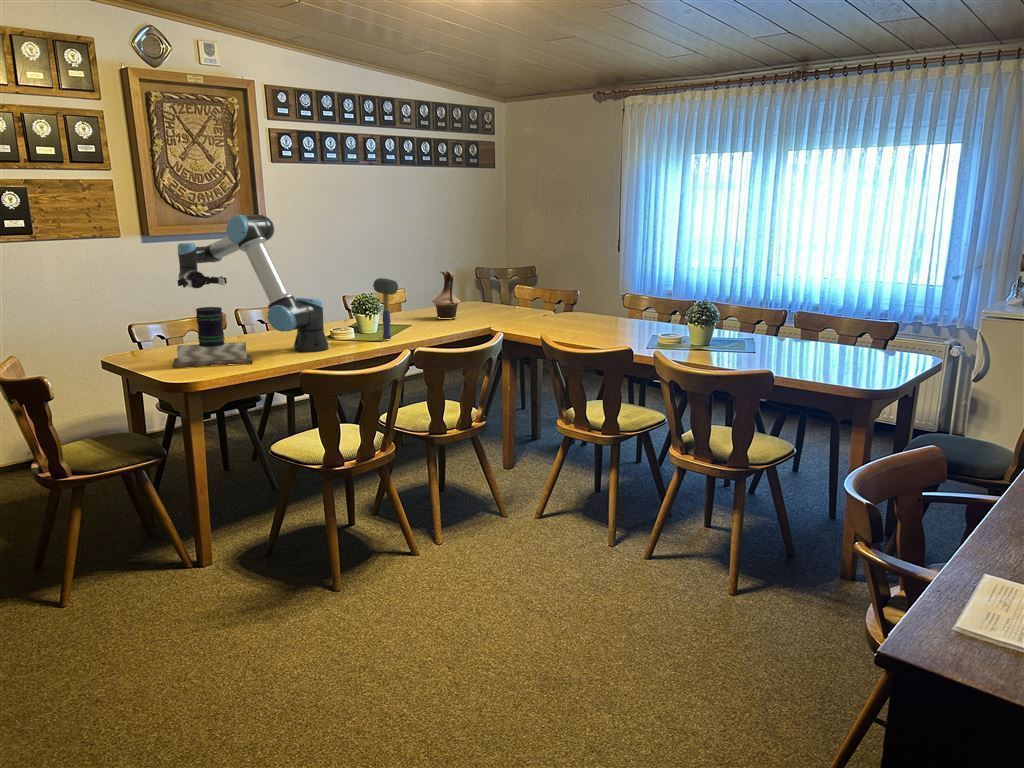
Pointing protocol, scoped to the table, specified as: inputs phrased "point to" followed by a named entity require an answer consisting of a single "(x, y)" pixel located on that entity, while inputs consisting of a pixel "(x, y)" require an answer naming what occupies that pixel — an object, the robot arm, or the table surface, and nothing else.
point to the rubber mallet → (386, 301)
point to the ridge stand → (211, 355)
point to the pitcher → (446, 298)
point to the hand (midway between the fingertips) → (207, 283)
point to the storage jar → (210, 326)
